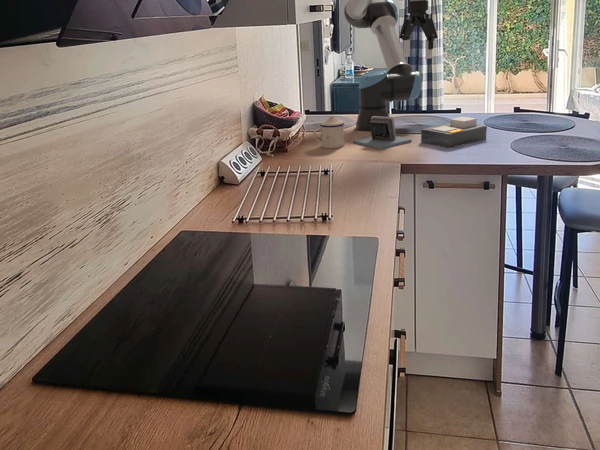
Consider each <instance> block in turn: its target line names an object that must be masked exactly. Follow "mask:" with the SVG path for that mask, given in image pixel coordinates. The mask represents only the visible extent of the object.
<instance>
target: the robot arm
mask: <svg viewBox="0 0 600 450" xmlns="http://www.w3.org/2000/svg"><path fill="white" fill-rule="evenodd" d="M407 10H408V12H409V13H405V14H404V18H403V21H402V25H401V29H400V33H399V36H398V34H397V31H396V29H395V27H396V26H397V23H398V19H399V13H398V7H397V5H396V3H395V2H394V1H393V0H348V1H347V2H346V4H345V6H344V9H343V14H344V18H345V20H346V21H347V23H348V24H349V25H350V26H352V27H354V28H356V29H370V30H371V33H372V35H375V36H376V38H377V39H376V40H377V42H378V45H379V48H380V51H381V54H382V56H383V60H384V63H385V67H386V69H387V70H378V71H377V70H375V71H370V72H367V73H364V74H362V75H361V76H359V78H358V80H359V81H358V92H359V93H358V95H359V96H358V97H359V112H358V115H357V118H356V122H355V129H356V130H359V131H365V132H366V131H367V132H371V129H370V121H371V117H372V116H381V117H390V114H389V111H388V103H390V102H400V101H411V100H415V99H417V98H419V96H420V94H421V89H422V75H421V73H420V71H417V70H415V71H414V69H413V67H412V65H411V64H409V63H407V60H406V58H408V57H409V58H410V57H411V39H410V37H411V35H412V33H413V31H414V29H415V28H416V27H419V28H421V30H422V32H423V34H424V36H425V38H426V40H425V59H428V60H429V59H433V49H434V41H435V40H436V39H438V32H437V29H436V26H435V22H434V20H433V13H432V12H427V11H428V10H429V0H409V1H408V2H407ZM400 39H401V40H402V46H401V44H400Z"/></svg>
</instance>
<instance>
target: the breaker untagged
mask: <svg viewBox="0 0 600 450" xmlns="http://www.w3.org/2000/svg"><path fill="white" fill-rule="evenodd" d="M449 120H450V121H449V123H450V126H453V127H459V128H468V127H472V126H476V124H477V120H478V119H477V118H475V117H468V116H458V117H455V118H454V117H453V118H450V119H449Z"/></svg>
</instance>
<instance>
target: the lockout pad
mask: <svg viewBox="0 0 600 450" xmlns="http://www.w3.org/2000/svg"><path fill="white" fill-rule="evenodd" d="M412 142H413V141H412V139H411V138H407V137H402V136H399V135H398V136H397V135H396V139H395V140H391V141H380V140H372V135H371V136H367V137H361V138H357V139H353V140H352V143H353V144H358V145H360V146H361V145H362V146H364V147H369V148H374V149H378V150H382V149H387V148H392V147H396V146H399V145H400V146H401V145H404V144H409V143H412Z"/></svg>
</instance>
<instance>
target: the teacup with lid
mask: <svg viewBox="0 0 600 450" xmlns="http://www.w3.org/2000/svg"><path fill="white" fill-rule="evenodd" d="M344 122H345V121H343V120H341V119H339V118H336V117H335V115H329V116H328V118H327V119H325V120H323V121H321V122H320V127H319V128H316V129H314V130H313V134H312V135H313V139H315V140H316V142H321V147H322V148H324V149H339V148H342V147H343V146H345V131H344V126H345V123H344ZM318 131H320V134H321V135H320V136H321V137H320V138H317V136H316V133H317V132H318Z"/></svg>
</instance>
